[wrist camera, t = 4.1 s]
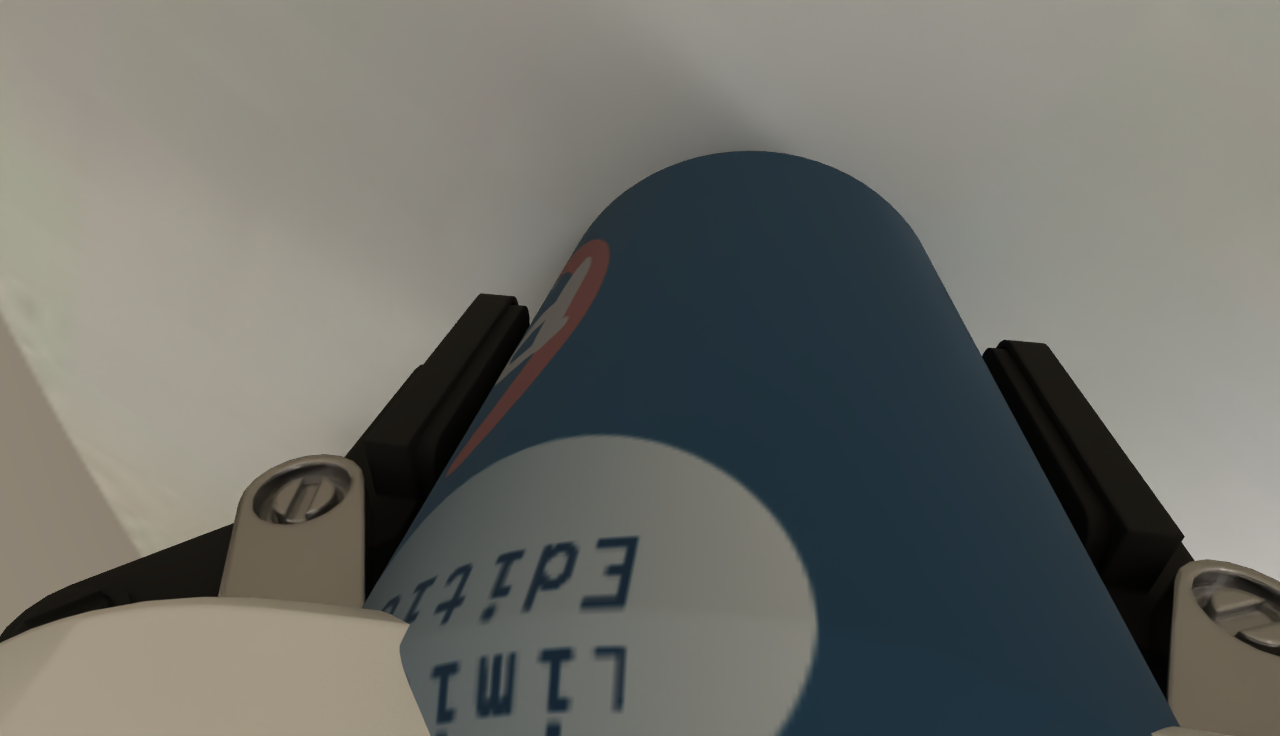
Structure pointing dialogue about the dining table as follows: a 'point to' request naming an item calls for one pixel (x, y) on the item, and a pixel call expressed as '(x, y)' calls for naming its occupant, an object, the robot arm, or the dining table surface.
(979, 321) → the dining table surface
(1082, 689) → the soda can
